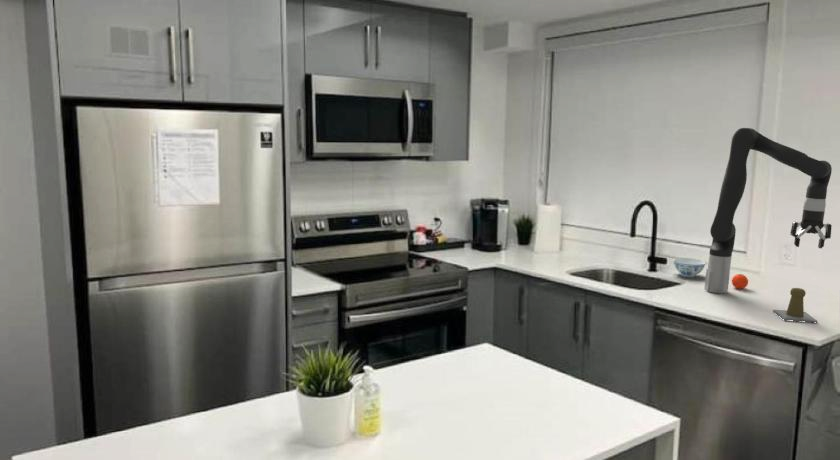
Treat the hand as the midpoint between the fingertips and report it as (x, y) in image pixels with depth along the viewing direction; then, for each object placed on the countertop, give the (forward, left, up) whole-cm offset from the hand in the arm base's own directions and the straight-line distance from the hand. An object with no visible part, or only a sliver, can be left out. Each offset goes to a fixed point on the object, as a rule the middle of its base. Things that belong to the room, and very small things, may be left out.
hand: (808, 247), depth 253 cm
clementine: (-17, +26, -27) cm, 41 cm away
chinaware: (-36, +45, -27) cm, 64 cm away
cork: (-8, -16, -25) cm, 31 cm away
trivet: (-8, -16, -26) cm, 32 cm away
